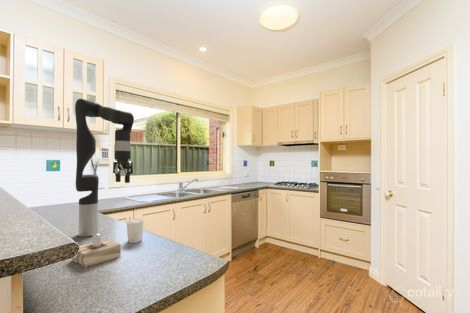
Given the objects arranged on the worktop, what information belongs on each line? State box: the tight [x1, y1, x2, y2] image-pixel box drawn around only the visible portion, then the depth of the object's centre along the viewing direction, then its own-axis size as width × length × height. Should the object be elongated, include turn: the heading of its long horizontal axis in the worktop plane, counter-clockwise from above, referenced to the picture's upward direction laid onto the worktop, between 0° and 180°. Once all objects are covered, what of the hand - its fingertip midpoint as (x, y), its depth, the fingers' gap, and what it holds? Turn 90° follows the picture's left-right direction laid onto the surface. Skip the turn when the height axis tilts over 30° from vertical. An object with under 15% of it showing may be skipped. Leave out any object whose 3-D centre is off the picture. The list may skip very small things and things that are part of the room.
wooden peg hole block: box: [71, 238, 122, 268], centre depth 102 cm, size 12×14×5 cm
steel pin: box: [92, 232, 102, 248], centre depth 102 cm, size 3×3×10 cm
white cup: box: [126, 218, 144, 244], centre depth 124 cm, size 8×8×10 cm
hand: (122, 182), depth 122 cm, fingers open, 8 cm apart
